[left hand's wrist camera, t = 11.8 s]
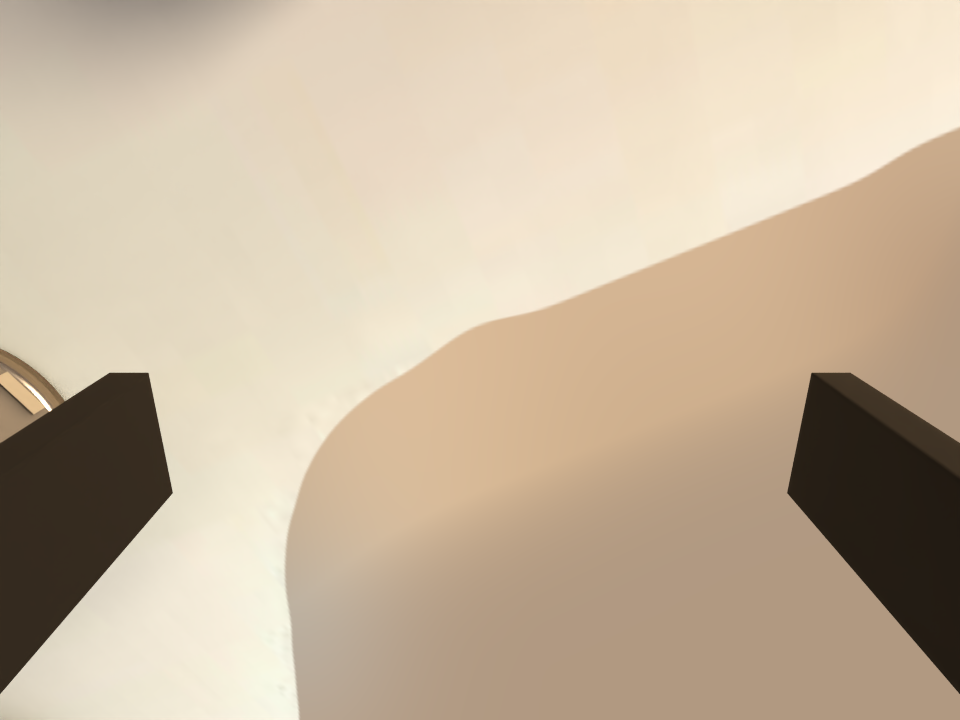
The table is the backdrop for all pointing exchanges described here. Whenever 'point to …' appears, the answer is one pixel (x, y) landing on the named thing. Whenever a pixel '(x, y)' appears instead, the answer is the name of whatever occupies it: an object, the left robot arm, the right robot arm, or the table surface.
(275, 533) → the table surface
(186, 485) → the table surface
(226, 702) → the table surface
